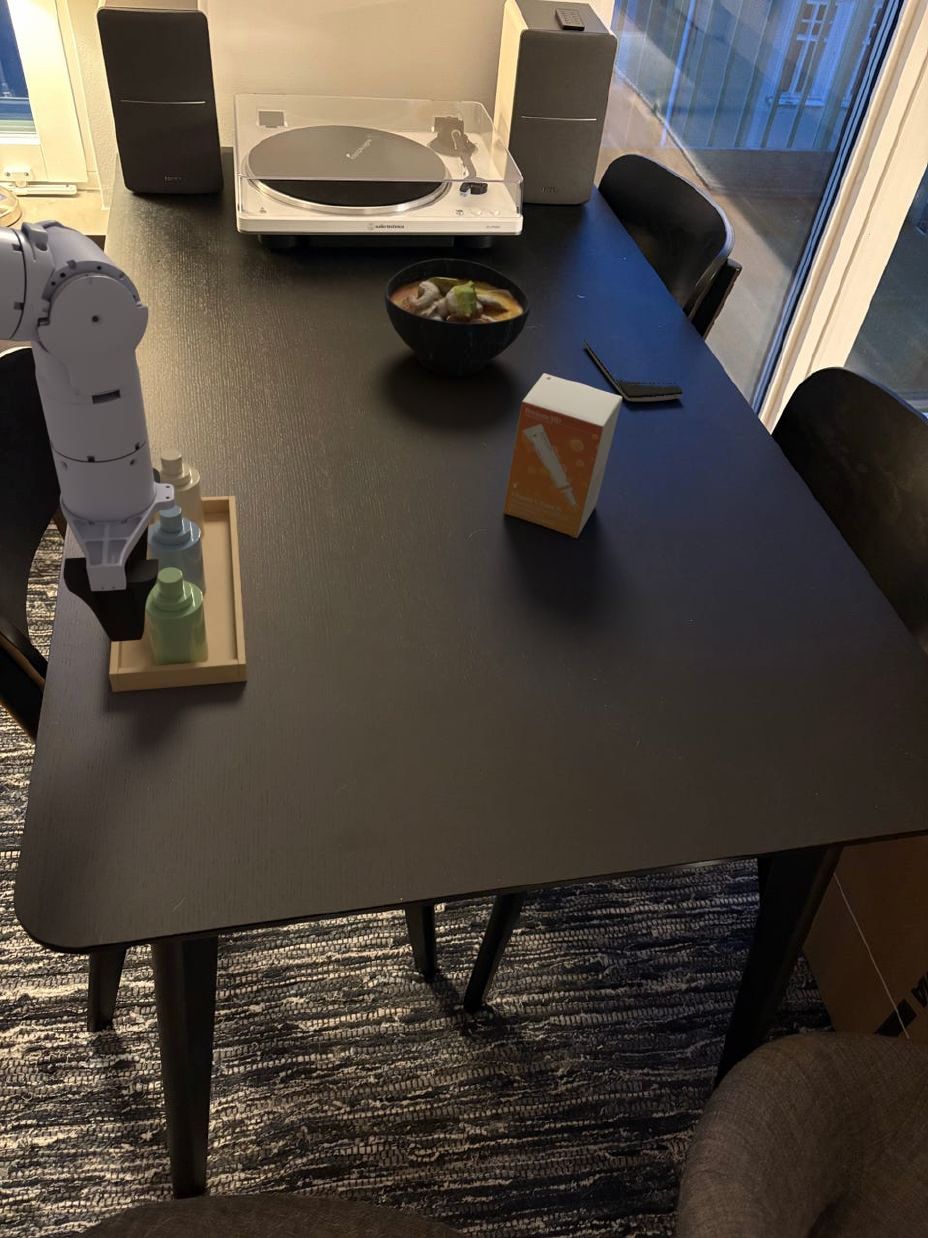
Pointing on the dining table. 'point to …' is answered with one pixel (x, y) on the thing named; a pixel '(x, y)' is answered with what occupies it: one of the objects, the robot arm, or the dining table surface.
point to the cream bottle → (182, 486)
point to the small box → (560, 453)
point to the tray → (221, 614)
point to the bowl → (455, 313)
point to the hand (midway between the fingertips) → (128, 599)
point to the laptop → (639, 387)
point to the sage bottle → (176, 620)
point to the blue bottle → (178, 546)
